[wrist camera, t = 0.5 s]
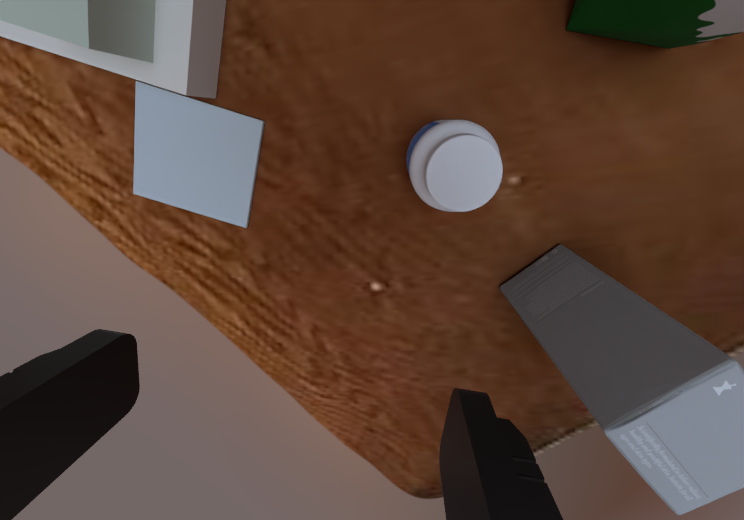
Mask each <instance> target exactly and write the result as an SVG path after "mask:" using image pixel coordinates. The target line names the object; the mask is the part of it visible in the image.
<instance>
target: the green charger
mask: <svg viewBox="0 0 744 520" xmlns="http://www.w3.org/2000/svg"><path fill="white" fill-rule="evenodd" d="M155 3H156V0H0V20H1V21H4V22H7V23H11V24H14V25H17V26H20V27H23V28H26V29H29V30H32V31H35V32H39V33H42V34H45V35H48V36H51V37H54V38H57V39H60V40H64V41H67V42H70V43H73V44H76V45H79V46H82V47H85V48H89V49H93V50H97V51H102V52H106V53H111V54H115V55H119V56H124V57H128V58H133V59H137V60H141V61H146V62H150V63H153V54H154V29H155Z"/></svg>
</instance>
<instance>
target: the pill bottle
mask: <svg viewBox="0 0 744 520" xmlns="http://www.w3.org/2000/svg"><path fill="white" fill-rule="evenodd" d="M406 162H407V168H408V173H409V176H410V179H411V182H412V185H413V187H414V189H415V191H416V193H417V194H418V196H419V197H420V198H421V199H422V200H423V201H424V202H425V203H427V204H428V205H430V206H431V207H433V208H436V209H439V210H442V211H448V212H456V211H457V212H466V211H470V210H474V209H476V208H479V207H481V206H482V205H484V204H485V203H487V202H488V201H489V200H490V199H491V198H492V197H493V196H494V194H495V193H496V191H497V189H498V188H499V185H500V182H501V179H502V173H503V167H502V161H501V158H500V152H499V148H498V146H497V143H496V141H495V140H494V138H493V137H492V135H491V134H490V133H489V132H488V131H487V130H486V129H485V128H483V127H482V126H480V125H478V124H476V123H473V122H471V121H467V120H459V119H458V120H446V119H445V120H438V121H434V122H431V123H428V124H426V125H425V126H423V127H422V128H421V129H420V130H418V131H417V133H416V134H415V135H414V136H413V138H412V140H411V142H410V144H409V146H408V150H407V155H406Z"/></svg>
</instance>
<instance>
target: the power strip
mask: <svg viewBox="0 0 744 520" xmlns="http://www.w3.org/2000/svg"><path fill="white" fill-rule="evenodd" d="M225 8H226V0H156V3H155V29H154V54H153V63H150V62H146V61H141V60H137V59H133V58H128V57H124V56H119V55H115V54H111V53H106V52H102V51H97V50H93V49H89V48H85V47H82V46H79V45H76V44H73V43H70V42H67V41H64V40H60V39H57V38H54V37H51V36H48V35H45V34H42V33H39V32H35V31H32V30H29V29H26V28H23V27H20V26H17V25H14V24H11V23H7V22H4V21H1V20H0V36H1V37H4V38H7V39H11V40H14V41H17V42H20V43H23V44H26V45H29V46H33V47H36V48H39V49H42V50H45V51H48V52H51V53H54V54H58V55H61V56H64V57H67V58H70V59H73V60H76V61H80V62H83V63H86V64H89V65H92V66H95V67H98V68H102V69H105V70H108V71H111V72H114V73H117V74H120V75H124V76H127V77H130V78H133V79H136V80H139V81H142V82H146V83H149V84H152V85H155V86H158V87H161V88H164V89H168V90H171V91H174V92H177V93H180V94H183V95H187V96H196V97H205V98H214V99H216V93H217V84H218V74H219V65H220V55H221V46H222V37H223V27H224V18H225Z"/></svg>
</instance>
